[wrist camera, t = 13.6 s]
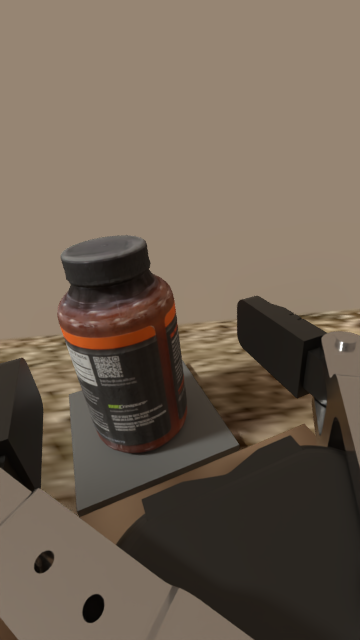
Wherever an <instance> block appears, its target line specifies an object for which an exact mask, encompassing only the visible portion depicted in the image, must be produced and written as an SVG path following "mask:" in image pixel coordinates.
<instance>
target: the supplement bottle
mask: <svg viewBox="0 0 360 640" xmlns="http://www.w3.org/2000/svg"><path fill="white" fill-rule="evenodd" d="M61 260H62V264H63V268H64V270H65V274H66V279H67V280H68V281H69V283H70V284H71V286H70V288H69V291H68V292H67V293H66V294H65V295H64V296H63V298H62V299H61V301H60V303H59V305H58V310H57V313H58V320H59V324H60V327H61V330H62V332H63V335H64V338H65V342H66V345H67V348H68V350H69V353H70V356H71V359H72V362H73V365H74V368H75V371H76V374H77V377H78V380H79V382H80V385H81V388H82V391H83V394H84V397H85V400H86V403H87V406H88V409H89V412H90V415H91V418H92V420H93V424H94V426H95V428H96V430H97V433H98V435H99V437H100V439H101V440H102V441H103V442H104V443H105V444H106V445H107V446H109V447H110V448H112V449H114V450H117V451H121V452H125V453H141V452H146V451H151V450H154V449H156V448H159V447H160V446H162V445H164V444H166V443H167V442H168V441H170V440H171V439H172V438H173V437H174V436H175V435H176V434H177V433H178V432H179V431H180V429H181V428H182V426H183V425H184V422H185V419H186V415H187V397H186V389H185V380H184V373H183V365H182V356H181V349H180V341H179V333H178V325H177V317H176V309H175V303H174V297H173V293H172V290H171V288H170V286H169V285H168V284H167V283H166V282H165V281H164V280H163V279H162V278H160V277H158V276H156V275H154V274H152V273H151V272H150V270H149V268H150V260H149V257H148V250H147V244H146V241H145V240H144V239H142V238H139V237H136V236H128V235H126V236H110V237H102V238H97V239H92V240H88V241H85V242H82V243H79V244H76V245H73V246H71V247H69V248H67V249H66V250H64V251H63V252H62V254H61Z"/></svg>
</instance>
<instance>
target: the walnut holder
mask: <svg viewBox="0 0 360 640" xmlns="http://www.w3.org/2000/svg"><path fill="white" fill-rule="evenodd" d="M289 435H291V436H292V437H293V438H294V440H295V441H296V442H297V443H298V444H299V445H300V446H302V445H316V446H317V443H316V435H315V434H314V433H313V432H312V431H311V430H310V429H309V428H308V427H307V426H306V425H305V424H302V425H300V426H297V427H295V428H292V429H290V430H288V431H285V432H283V433H280V434H278V435H276V436H273V437H271V438H269V439H266V440H264V441H261V442H259V443H257V444H254V445H252V446H249V447H247V448H245V449H242V450H240V451H237V452H235V453H233V454H230V455H228V456H225V457H223V458H221V459H218V460H216V461H213V462H211V463H209V464H206V465H204V466H202V467H199V468H197V469H194V470H192V471H190V472H187V473H185V474H182V475H180V476H178V477H175V478H173V479H170V480H168V481H166V482H163V483H161V484H158V485H156V486H154V487H151V488H149V489H146V490H144V491H142V492H139V493H137V494H134V495H132V496H130V497H127V498H125V499H123V500H120V501H118V502H115V503H113V504H111V505H108V506H106V507H103V508H101V509H99V510H96V511H94V512H91V513H89V514H87V515H84V516H82V517H79V518H80V519H82V520H83V521H84V522H86V523H87V524H88V525H90V526H91V527H92V528H94V529H95V530H96V531H98V532H99V533H100V534H102V535H103V536H104V537H106V538H107V539H108V540H110V541H111V542H112V543H114V544H115V545H116V543H117V542H118V540H119V539H120V538H121V537H122V535H123V534H124V533H125V532H126V530H127V529H128V528H129V527H130V526H131V525H132V524H133V523H134V522H135V521H136V520H137V519H139V518H140V517H141V516H142V515H144V514H145V511H144V508H143V504H142V500H141V499H143V498H146V497H148V496H150V495H153V494H155V493H157V492H160V491H162V490H164V489H167V488H169V487H171V486H173V485H176V484H178V483H180V482H183V481H190V480H196V479H202V478H208V477H214V476H220V475H225V474H227V473H229V472H231V471H232V470H233V469H234V468H235V467H237V466H238V465H239V464H240V463H242V462H243V461H244V460H245V459H246V458H248V457H249V456H250V455H251V454H252V453H254V452H255V451H256V450H257V449H259V448H261V447H264V446H266V445H268V444H271V443H273V442H275V441H278V440H280V439H282V438H285V437H287V436H289ZM0 640H18V639H17V637H16V636H15V635H14V634H13V633H12V631H11V630H10V629H9V628H8V626H7V625H6V624H5V623H4V621H3V620H2V619H1V618H0Z"/></svg>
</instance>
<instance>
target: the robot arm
mask: <svg viewBox="0 0 360 640" xmlns="http://www.w3.org/2000/svg"><path fill="white" fill-rule="evenodd" d="M237 336H238V340H239V343H240V345H241V346H242V348H243V349H244V350H245V351H246V352H247V353H249V354H250V355H251V356H252V357H253V358H254V359H255V360H256V361H257V362H258V363H259V364H260V365H261V366H263V367H264V368H265V369H266V370H267V371H268V372H269V373H270V374H271V375H272V376H273V377H274V378H275V379H277V380H278V381H279V382H280V383H281V384H282V385H283V386H284V387H285V388H286V389H287V390H288V391H289V392H291V393H292V394H293V395H294V396H295V397H296V398H299V397H302V396H304V395H307V394H309V393H310V394H311V395H312V396H313V397H312V411H313V419H314V427H315V435H316V443H317V446H316V445H302V446H300V445H299V444H298V443H297V442H296V441H295V440H294V438H293V437H292V436H291V435H289V436H287V437H285V438H282V439H280V440H278V441H275V442H273V443H271V444H268V445H266V446H264V447H261V448H259V449H257V450H256V451H255V452H254V453H252V454H251V455H250V456H249V457H248V458H246V459H245V460H244V461H243V462H242V463H240V464H239V465H238V466H237V467H235V468H234V469H233V470H232V471H231V472H229V473H227V474H225V475H220V476H214V477H208V478H202V479H196V480H190V481H183V482H180V483H178V484H176V485H173V486H171V487H169V488H167V489H164V490H162V491H160V492H157V493H155V494H153V495H150V496H148V497H146V498H143V499H141V500H142V504H143V508H144V511H145V514H144V515H142V516H141V517H140V518H139V519H137V520H136V521H135V522H134V523H133V524H132V525H131V526H130V527H129V528H128V529H127V530H126V532H125V533H124V534H123V535H122V537H121V538H120V539H119V540H118V542H117V543H116V545H115V544H114V543H112V542H111V541H110V540H108V539H107V538H106V537H104V536H103V535H102V534H100V533H99V532H98V531H96V530H95V529H94V528H92V527H91V526H90V525H88V524H87V523H86V522H84V521H83V520H82V519H80V518H79V517H78V516H76V515H75V514H74V513H72V512H71V511H70V510H69V509H67V508H66V507H65V506H63V505H62V504H61V503H59V502H58V501H57V500H55V499H54V498H53V497H51V496H50V495H49V494H47V493H46V492H44V491H43V490H41V464H42V435H43V404H42V399H41V396H40V393H39V391H38V388H37V386H36V384H35V381H34V379H33V377H32V374H31V372H30V370H29V367H28V365H27V363H26V361H25V359H24V358H19V359H16V360H12V361H8V362H4V363H1V364H0V618H1V619H2V620H3V621H4V623H5V624H6V625H7V626H8V628H9V629H10V630H11V631H12V633H13V634H14V635H15V636H16V637H17V639H18V640H360V336H359V335H357V334H354V333H350V332H343V331H336V332H330V333H326V332H325V331H323V330H321V329H320V328H318V327H316V326H315V325H313V324H311V323H309V322H308V321H306V320H304V319H301V317H299V316H298V315H296V314H295V315H294V313H292V312H291V311H289V310H287V309H286V308H284V307H280V306H277V305H274V304H271V303H269V302H267V301H266V300H264V299H263V298H261V297H259V296H254V297H250V298H246V299H242V300H240V301H239V302H238V305H237Z"/></svg>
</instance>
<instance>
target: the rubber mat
mask: <svg viewBox="0 0 360 640" xmlns="http://www.w3.org/2000/svg"><path fill="white" fill-rule="evenodd" d="M182 365H183V373H184V380H185V389H186V397H187V415H186V419H185V422H184V425H183V426H182V428H181V429H180V431H179V432H178V433H177V434H176V435H175V436H174V437H173V438H172V439H171V440H170V441H168V442H167V443H166V444H164V445H162V446H160V447H159V448H156V449H154V450H151V451H146V452H141V453H125V452H121V451H117V450H114V449H112V448H110V447H109V446H107V445H106V444H105V443H104V442H103V441H102V440H101V439H100V437H99V435H98V433H97V430H96V428H95V426H94V424H93V420H92V418H91V415H90V412H89V409H88V406H87V403H86V400H85V397H84V394H83V391H79V392H76V393H72V394H69V403H70V417H71V432H72V446H73V461H74V475H75V490H76V504H77V512H78V515H79V517H81V516H83V515H86V514H88V513H91V512H93V511H95V510H98V509H100V508H103V507H105V506H107V505H110V504H112V503H115V502H117V501H119V500H122V499H124V498H127V497H129V496H131V495H134V494H136V493H138V492H141V491H143V490H146V489H148V488H150V487H153V486H155V485H158V484H160V483H162V482H165V481H167V480H170V479H172V478H174V477H177V476H179V475H182V474H184V473H186V472H189V471H191V470H194V469H196V468H198V467H201V466H203V465H206V464H208V463H210V462H213V461H215V460H218V459H220V458H222V457H225V456H227V455H230V454H232V453H234V452H237V451H239V443H238V442H237V440H236V439H235V438H234V436H233V435H232V433H231V432H230V430H229V429H228V427H227V426H226V424H225V423H224V421H223V420H222V418H221V417H220V415H219V414H218V412H217V411H216V409H215V408H214V406H213V405H212V403H211V402H210V400H209V399H208V397H207V396H206V395H205V393H204V392H203V390H202V389H201V387H200V386H199V384H198V383H197V381H196V380H195V378H194V377H193V375H192V374H191V372H190V371H189V369H188V368H187V366H186V365H185V363H184V362H183V360H182Z"/></svg>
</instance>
